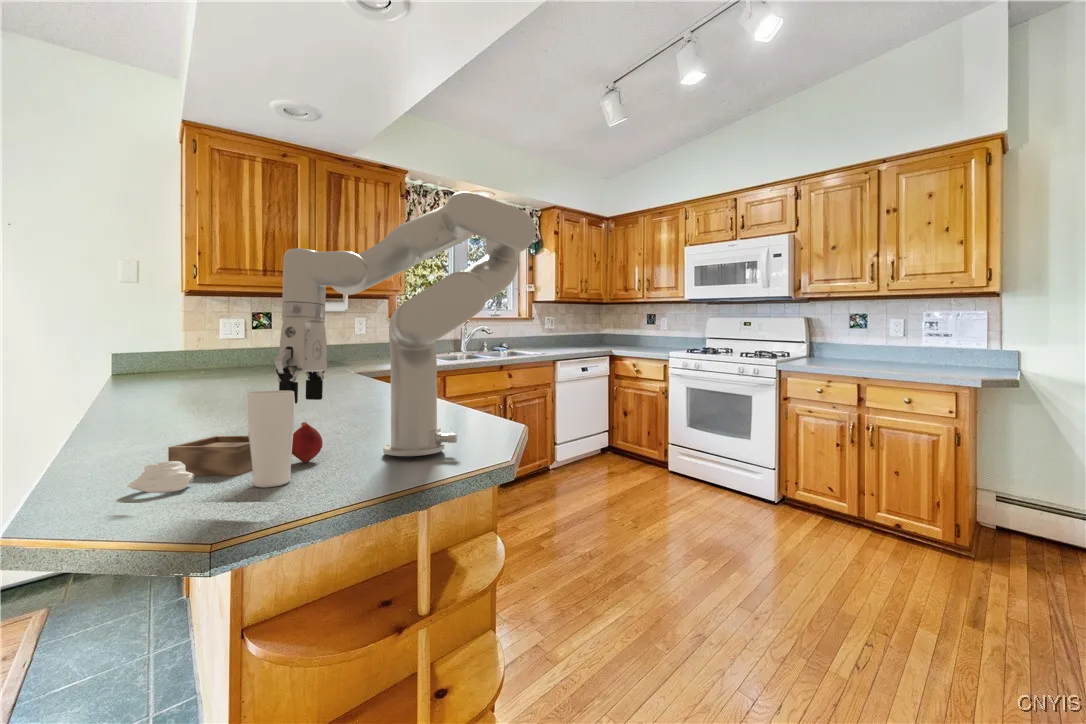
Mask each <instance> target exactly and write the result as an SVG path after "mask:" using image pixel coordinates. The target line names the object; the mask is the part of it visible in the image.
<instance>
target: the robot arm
mask: <svg viewBox="0 0 1086 724" xmlns="http://www.w3.org/2000/svg"><path fill="white" fill-rule="evenodd" d="M536 229H537V228H536V223H535V221H534V220H533V218H532V217H531V216H530V215H529V214H527V212H525V211H524V210H522V209H520V208H517V207H516V206H515V207H514V206H511V205H509V204H506V203H504V202H501V201H497V200H496V199H492V198H490V197H487V196H484V195H482V194H478V193H476V192H471V191H470V192H469V191H459V192H455V193H454V194H452V195H451V196H450V197H449V198H448V199H447V202H446V203H445V204H444V205H443V206H440V207H438V208H435V209H434V210H431V211H429V212H427V213H424V214H421V215H420V216H418V217H416V218H414V219H411V220H408V221H406V222H404V223H402V224H400V225H398V226H396V227H395V228H393V230H391V232H389V233H388V234H387V235H386V236H385V237H384V238H383V239H381V240H380V241H379V242H378V243H376V244H374V245H373V246H371V247H370V248H368V249H365V250H363V251H361V252H359V253H355V252H353V251H347V250H335V251H317V250H314V249H308V248H289V249H288V250H286V251H285V252H284V254H283V261H282V266H283V267H282V271H283V272H282V296H281V297H282V298H281V299H282V300H281V303H282V304H281V321H282V324H281V332H280V341H279V353H278V355H277V356H275V357H274V364H275V367H276V369H275V371H276V374H277V376H278V377H277V381H278V384H279V385H278V391H282V390H285V391H294V396H295V405H296V404H297V403H298V402H299V398H298V396H299V395H298V394H299V393H298V392H299V382H298V381H297V380H298V376H299V374H300V372H305V374H306V376H307V379H305V399H306V400H310V401H311V400H313V401H319V400H320V401H321V400H323V391H324V390H323V389H324V388H323V385H324V379H325V375H324V373H325V372H326V370H327V368H328V352H327V351H328V350H327V349H328V348H327V347H328V346H327V332H326V326H325V323H326V298H327V297H326V295H327V293H326V291H327V289H326V288H327V287H331V288H332V289H333V290H334V291H335V292H337V293H339V294H341V295H344V296H351V295H357V294H360V293H361V292H363V291H366V290H368V289H370V288H371V287H374V286H376V285H378V284H380V283H382V282H384V281H386V280H387V279H390V278H392V277H394V276H396V275H397V274H399V273H401V272H403V271H406V270H408V269H411V268H413V267H414V266H416V265H418V264H420V263H421V262H424V261H426V260H428V259H430V258H432V257H434V256H435V255H437V254H440V253H442V252H444V251H446V250H448V249H451V248H454V247H455V246H458V245H459V244H462V243H463V242H465V241H467V240H469V239H470V238H471V237H472V236H474V235H476V236H477V237H480V238H483V239H485V253H484V256H483V257H482V258H481V259H479V260H478V261H477V262H475V263H473V264H472V265H470V266H469V267H467V268H466V269H464V270H458V271H454V272H452V273H450V274H448V275H446V276H445V277H443V278H442V279H440V280H439V281H436V283H434V284H432V285H431V286H428V287H427V288H426V289H423V290H422V291H421V292H419V293H417V294H415V295H414V296H412V297H411V298H409V299H406V301H404V302H403V303H401V305H399V306H398V307H397V308H396V309H395V310H394V311H393V312H392V315H391V317H390V319H389V322H388V323H389V325H388V337H389V354H390V356H389V357H390V361H389V362H390V443H388V444H386V445H384V446H383V448H382V450H383V454H385V455H387V456H394V457H419V456H421V457H422V456H428V455H433V454H437V453H440V451H441V452H442V450H443V449H444V450H445V443H448V444H457V443H458V434H457V433H453V432H451V433H450V432H449V433H448V432H447V433H444V432H442V431H441V430H442V429H441V427H438V390H437V389H438V388H437V387H438V383H437V381H438V380H437V379H438V367H437V365H438V363H437V361H438V359H437V350H436V349H437V348H436V342H437V341H438V340H440V339H441V338H443V337H445V336H446V335H447V334H449V333H451V332H452V331H453V330H456V329H458V327H460V326H462V324H463V325H464V324H465V323H466V322H468V321H469V320H470V319H472V318H474V317H475V316H476V315H478V314H479V313H480V312H481V311H482V310H483V309H484V307H485V305H486V303H487V302H489V301H490V300H491V299H493V298H494V297H495V296H497V295H498V294H500V293H502V292H503V291H504V290H505V289H506V288H507V287H509V286H510V285H511V284H512V282H513V281H514V279H515V276H516V274H517V271H518V265H519V264H518V263H519V254H520V253H522V252H523V251H525V250H527V249H528V248H529V247H530V246H531V245H532V244H533V243H534V241H535V238H536V234H537V231H536ZM444 450H443V451H444Z"/></svg>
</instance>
